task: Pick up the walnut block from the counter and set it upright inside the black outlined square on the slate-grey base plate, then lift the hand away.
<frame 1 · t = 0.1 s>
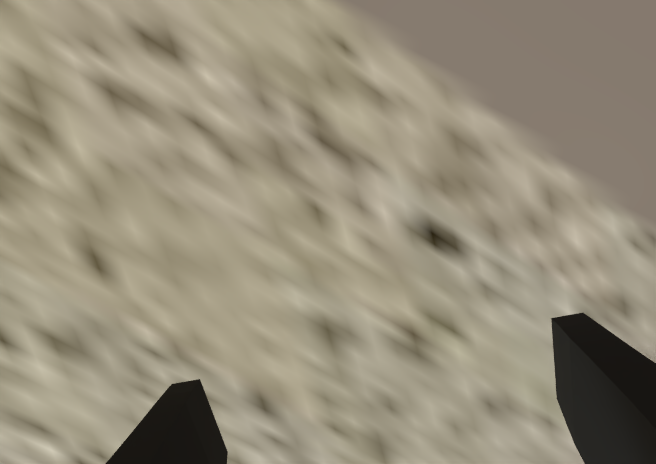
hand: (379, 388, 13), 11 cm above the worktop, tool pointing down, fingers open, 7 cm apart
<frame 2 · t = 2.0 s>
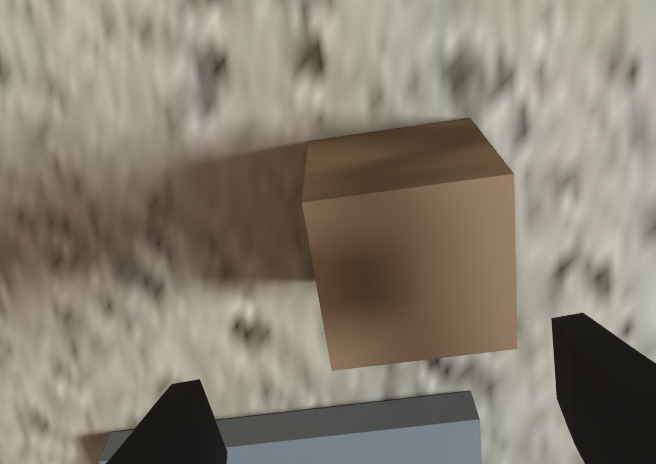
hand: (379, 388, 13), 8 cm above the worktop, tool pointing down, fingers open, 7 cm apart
walnut block: (396, 203, 20), on the worktop
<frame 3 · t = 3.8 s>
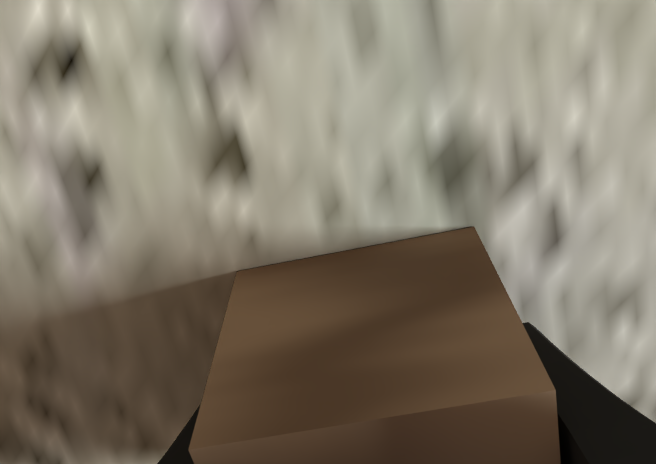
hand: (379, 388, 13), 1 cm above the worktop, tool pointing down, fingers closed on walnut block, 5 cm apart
walnut block: (374, 346, 14), on the worktop, touching gripper
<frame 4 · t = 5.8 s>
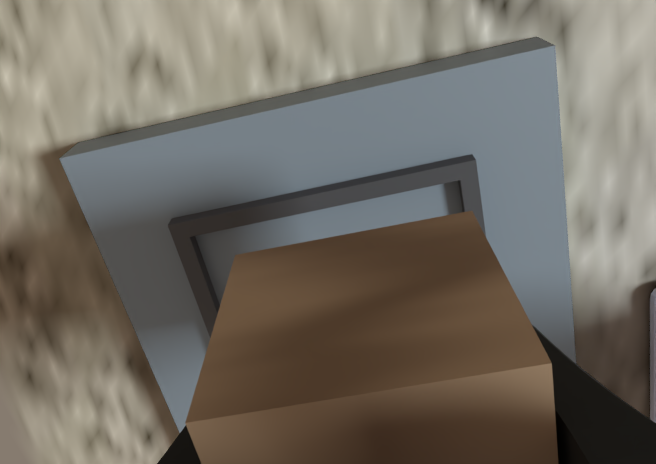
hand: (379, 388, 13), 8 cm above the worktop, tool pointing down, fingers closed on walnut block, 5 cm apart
walnut block: (372, 331, 14), point 7 cm above the worktop, touching gripper
slate base plate: (348, 289, 21), on the worktop
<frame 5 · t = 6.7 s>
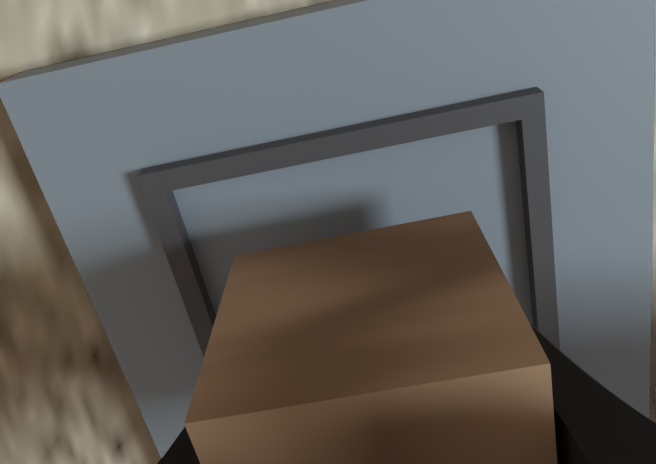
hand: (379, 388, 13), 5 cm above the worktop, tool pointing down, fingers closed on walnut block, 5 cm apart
walnut block: (372, 331, 14), point 3 cm above the worktop, touching gripper
slate base plate: (366, 268, 17), on the worktop
when the fingers open (5 cm above the worktop, at t = 7.6 s): walnut block drops 2 cm, resting on slate base plate.
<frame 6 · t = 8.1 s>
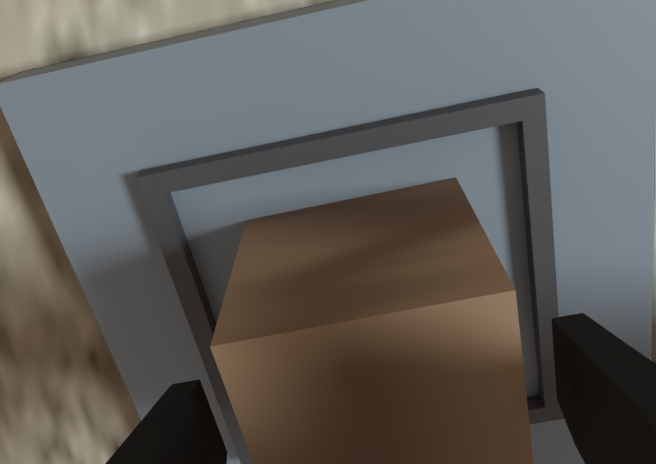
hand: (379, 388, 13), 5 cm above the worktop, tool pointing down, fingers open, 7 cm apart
walnut block: (369, 289, 15), point 1 cm above the worktop, touching slate base plate
slate base plate: (366, 270, 17), on the worktop
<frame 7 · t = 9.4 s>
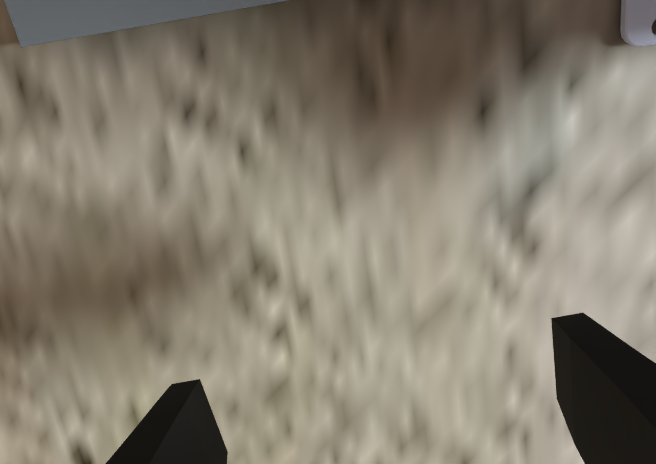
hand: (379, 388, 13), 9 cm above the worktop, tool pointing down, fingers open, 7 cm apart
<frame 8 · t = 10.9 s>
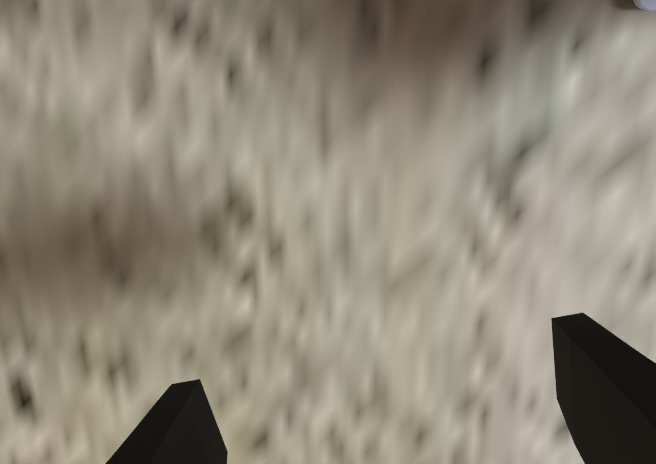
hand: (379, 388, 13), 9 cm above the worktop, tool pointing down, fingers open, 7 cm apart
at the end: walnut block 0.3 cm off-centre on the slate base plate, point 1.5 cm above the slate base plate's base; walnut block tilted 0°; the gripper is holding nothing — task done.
